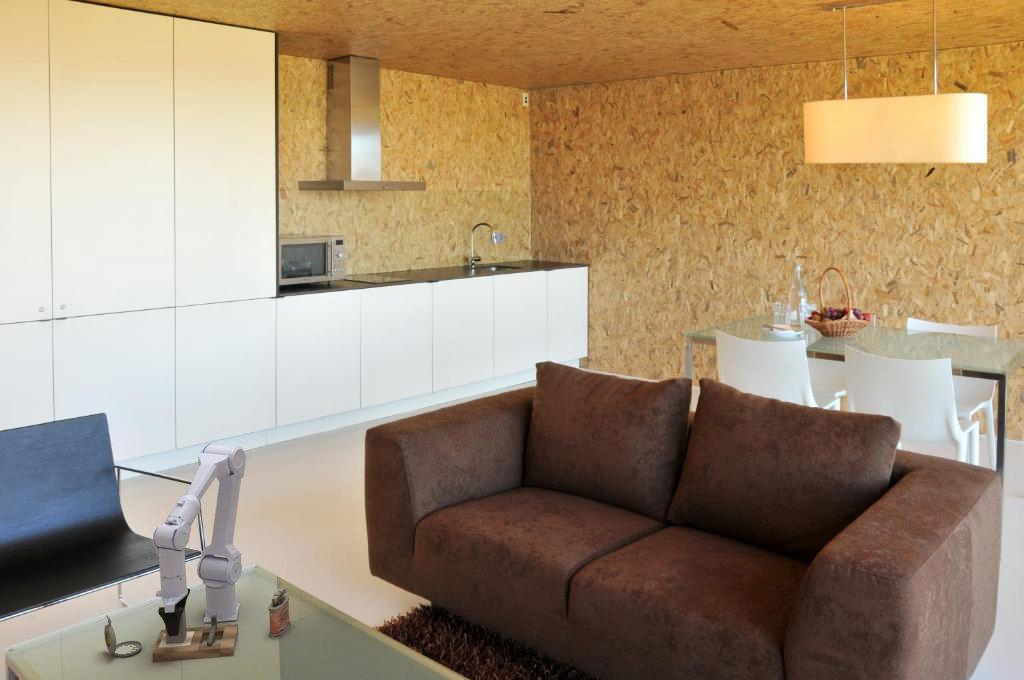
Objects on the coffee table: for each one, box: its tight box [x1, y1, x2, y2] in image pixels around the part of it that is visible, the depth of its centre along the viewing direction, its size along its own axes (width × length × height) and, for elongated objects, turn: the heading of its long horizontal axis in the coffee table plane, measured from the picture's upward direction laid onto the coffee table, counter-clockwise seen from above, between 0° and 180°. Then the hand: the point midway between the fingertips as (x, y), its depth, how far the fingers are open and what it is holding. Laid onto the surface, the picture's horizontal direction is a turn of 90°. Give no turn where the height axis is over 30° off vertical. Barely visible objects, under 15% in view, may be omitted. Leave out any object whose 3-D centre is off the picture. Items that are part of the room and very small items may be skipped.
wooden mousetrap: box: [151, 615, 239, 662], centre depth 228 cm, size 12×18×5 cm, turn 101°
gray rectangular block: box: [164, 607, 187, 644], centre depth 226 cm, size 4×4×7 cm
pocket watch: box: [103, 614, 143, 657], centre depth 224 cm, size 8×8×10 cm
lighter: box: [267, 587, 291, 639], centre depth 236 cm, size 8×3×10 cm, turn 168°
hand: (176, 627), depth 227 cm, fingers open, 7 cm apart
